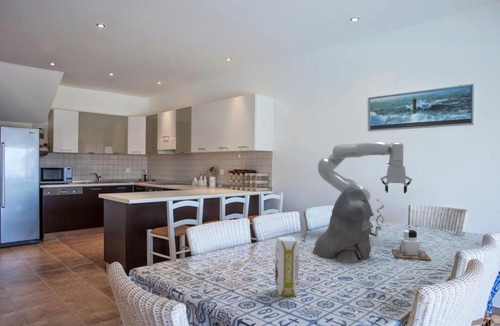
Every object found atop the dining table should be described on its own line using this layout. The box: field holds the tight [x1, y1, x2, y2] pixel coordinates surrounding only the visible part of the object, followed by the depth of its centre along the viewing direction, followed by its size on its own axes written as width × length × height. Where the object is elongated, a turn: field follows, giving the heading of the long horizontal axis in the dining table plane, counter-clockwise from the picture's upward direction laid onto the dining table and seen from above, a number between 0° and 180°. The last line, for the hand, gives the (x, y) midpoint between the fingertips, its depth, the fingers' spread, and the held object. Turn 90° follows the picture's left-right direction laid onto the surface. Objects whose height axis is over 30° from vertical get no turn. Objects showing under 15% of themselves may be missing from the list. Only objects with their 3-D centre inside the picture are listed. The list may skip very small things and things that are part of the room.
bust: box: [312, 186, 385, 265], centre depth 174 cm, size 34×34×35 cm
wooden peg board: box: [391, 243, 432, 262], centre depth 173 cm, size 16×16×4 cm
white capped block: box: [400, 229, 421, 256], centre depth 173 cm, size 7×7×12 cm
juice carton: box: [274, 236, 300, 297], centre depth 120 cm, size 8×9×19 cm
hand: (395, 192), depth 200 cm, fingers open, 9 cm apart
